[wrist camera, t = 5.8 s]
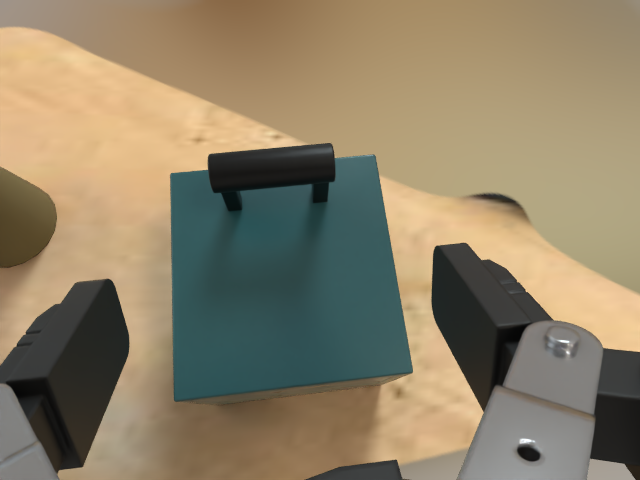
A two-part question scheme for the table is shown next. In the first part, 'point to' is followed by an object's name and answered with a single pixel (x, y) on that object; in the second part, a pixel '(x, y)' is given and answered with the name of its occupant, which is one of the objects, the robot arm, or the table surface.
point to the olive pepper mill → (23, 219)
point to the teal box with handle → (282, 274)
